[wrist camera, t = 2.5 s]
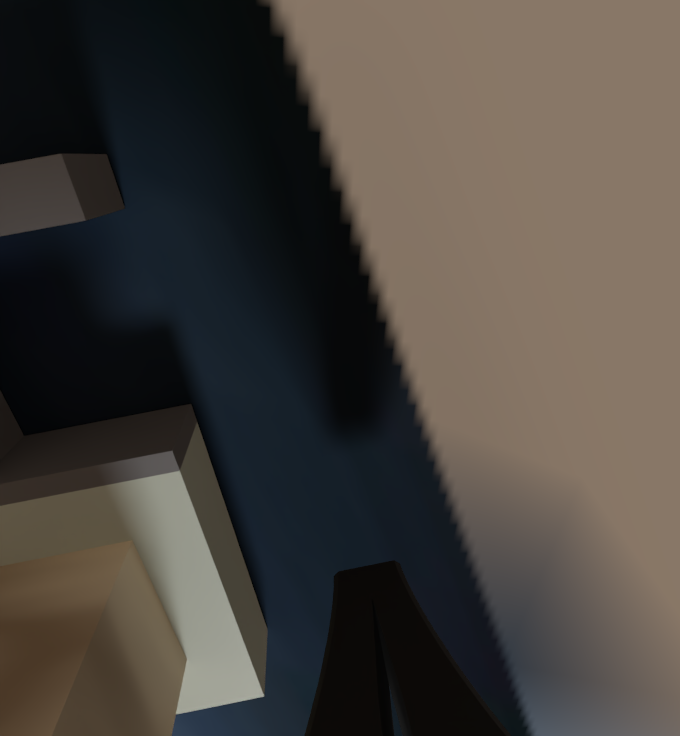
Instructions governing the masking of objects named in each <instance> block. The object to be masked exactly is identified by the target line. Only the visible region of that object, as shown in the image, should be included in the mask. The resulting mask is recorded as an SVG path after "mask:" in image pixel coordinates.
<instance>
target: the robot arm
mask: <svg viewBox="0 0 680 736" xmlns="http://www.w3.org/2000/svg"><path fill="white" fill-rule="evenodd" d="M389 686H390V690H391V694H392V697H393V701H394V705H395V708H396V712H397V716H398V719H399V723H400V727H401V730H402V734H403V736H511V735H510V734H509V732H508V731H507V730H506V729H505V727H504V726H503V725H502V724H501V723H500V721H499V720H498V719H497V717H496V716H495V715H494V714H493V712H492V711H491V710H490V708H489V707H488V706H487V705H486V703H485V702H484V701H483V699H482V698H481V697H480V695H479V694H478V693H477V691H476V690H475V688H474V687H473V686H472V684H471V683H470V682H469V680H468V679H467V678H466V676H465V675H464V673H463V672H462V671H461V669H460V668H459V666H458V665H457V663H456V662H455V661H454V659H453V658H452V656H451V655H450V653H449V652H448V650H447V649H446V647H445V645H444V644H443V642H442V641H441V639H440V638H439V636H438V635H437V633H436V632H435V630H434V629H433V627H432V625H431V624H430V622H429V620H428V619H427V617H426V616H425V614H424V612H423V610H422V609H421V607H420V605H419V603H418V602H417V600H416V598H415V596H414V594H413V592H412V590H411V588H410V586H409V584H408V582H407V580H406V578H405V576H404V573H403V571H402V568H401V566H400V563H398V562H396V561H389V562H384V563H379V564H374V565H369V566H364V567H359V568H354V569H349V570H344V571H339V572H338V573H337V574H336V575H335V576H334V593H333V605H332V613H331V620H330V627H329V633H328V639H327V644H326V649H325V654H324V659H323V664H322V669H321V674H320V678H319V683H318V687H317V690H316V694H315V698H314V702H313V706H312V710H311V714H310V718H309V722H308V725H307V729H306V733H305V736H394V729H393V720H392V710H391V701H390V691H389Z"/></svg>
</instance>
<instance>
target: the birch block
mask: <svg viewBox="0 0 680 736" xmlns="http://www.w3.org/2000/svg"><path fill="white" fill-rule="evenodd" d="M186 662H187V658H186V656H185V654H184V652H183V650H182V647H181V645H180V643H179V641H178V639H177V637H176V634H175V632H174V630H173V628H172V626H171V623H170V621H169V619H168V617H167V615H166V613H165V610H164V608H163V606H162V604H161V602H160V599H159V597H158V595H157V593H156V591H155V589H154V586H153V584H152V582H151V580H150V578H149V575H148V573H147V571H146V569H145V567H144V565H143V562H142V560H141V558H140V556H139V554H138V551H137V549H136V547H135V545H134V543H133V541H132V540H131V541H126V542H121V543H116V544H110V545H105V546H100V547H95V548H90V549H85V550H80V551H75V552H70V553H65V554H60V555H55V556H50V557H45V558H40V559H35V560H29V561H24V562H19V563H14V564H9V565H4V566H0V736H171V735H172V730H173V725H174V720H175V716H176V711H177V706H178V701H179V696H180V691H181V686H182V682H183V677H184V672H185V667H186Z"/></svg>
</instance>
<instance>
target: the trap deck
mask: <svg viewBox="0 0 680 736" xmlns="http://www.w3.org/2000/svg"><path fill="white" fill-rule="evenodd" d="M121 209H125V207H124V204H123V201H122V198H121V195H120V192H119V189H118V186H117V183H116V180H115V177H114V174H113V171H112V168H111V166H110V163H109V160H108V157H107V154H56V155H50V156H45V157H39V158H34V159H28V160H23V161H17V162H12V163H7V164H1V165H0V236H5V235H10V234H16V233H21V232H27V231H32V230H37V229H43V228H48V227H54V226H59V225H65V224H70V223H75V222H81V221H86V220H89V219H93V218H96V217H99V216H102V215H105V214H109V213H112V212H115V211H118V210H121ZM131 540H132V541H133V543H134V545H135V547H136V549H137V551H138V554H139V556H140V558H141V560H142V562H143V565H144V567H145V569H146V571H147V573H148V575H149V578H150V580H151V582H152V584H153V586H154V589H155V591H156V593H157V595H158V597H159V599H160V602H161V604H162V606H163V608H164V610H165V613H166V615H167V617H168V619H169V621H170V623H171V626H172V628H173V630H174V632H175V634H176V637H177V639H178V641H179V643H180V645H181V647H182V650H183V652H184V654H185V656H186V658H187V662H186V667H185V672H184V677H183V682H182V686H181V691H180V696H179V701H178V706H177V711H176V714H181V713H186V712H190V711H195V710H200V709H205V708H210V707H215V706H220V705H225V704H230V703H234V702H239V701H244V700H249V699H254V698H259V697H264V691H265V670H266V650H267V627H266V624H265V621H264V618H263V615H262V612H261V609H260V606H259V603H258V600H257V597H256V594H255V591H254V588H253V585H252V582H251V579H250V576H249V573H248V570H247V568H246V565H245V562H244V559H243V556H242V553H241V550H240V547H239V544H238V541H237V538H236V535H235V532H234V529H233V526H232V523H231V520H230V517H229V514H228V511H227V508H226V505H225V502H224V500H223V497H222V494H221V491H220V488H219V485H218V482H217V479H216V476H215V473H214V470H213V467H212V464H211V461H210V458H209V455H208V452H207V449H206V446H205V443H204V440H203V437H202V435H201V432H200V429H199V426H198V423H197V420H196V417H195V414H194V411H193V408H192V405H191V404H187V405H182V406H177V407H172V408H167V409H161V410H156V411H151V412H146V413H141V414H135V415H130V416H125V417H120V418H115V419H109V420H104V421H99V422H94V423H89V424H84V425H78V426H73V427H68V428H63V429H58V430H52V431H47V432H42V433H37V434H32V435H27V436H24V435H23V433H22V431H21V429H20V427H19V425H18V423H17V421H16V419H15V418H14V416H13V414H12V412H11V410H10V408H9V406H8V404H7V402H6V400H5V398H4V396H3V394H2V393H1V391H0V566H4V565H9V564H14V563H19V562H24V561H29V560H35V559H40V558H45V557H50V556H55V555H60V554H65V553H70V552H75V551H80V550H85V549H90V548H95V547H100V546H105V545H110V544H116V543H121V542H126V541H131Z"/></svg>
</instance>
